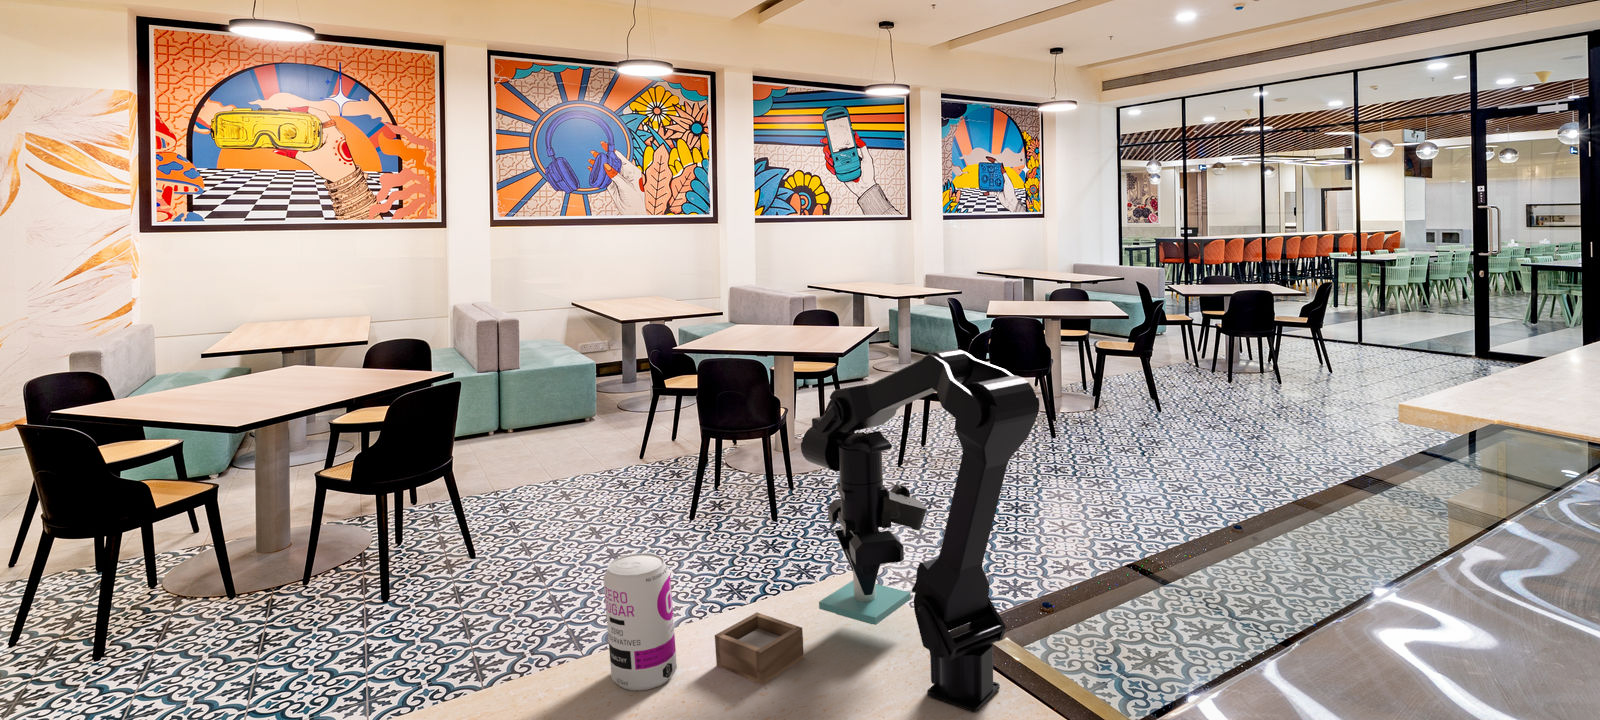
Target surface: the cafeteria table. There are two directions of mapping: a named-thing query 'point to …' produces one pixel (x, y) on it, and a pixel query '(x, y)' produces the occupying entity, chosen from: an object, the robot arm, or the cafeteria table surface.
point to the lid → (864, 602)
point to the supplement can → (640, 621)
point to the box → (759, 647)
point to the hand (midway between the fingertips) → (865, 589)
